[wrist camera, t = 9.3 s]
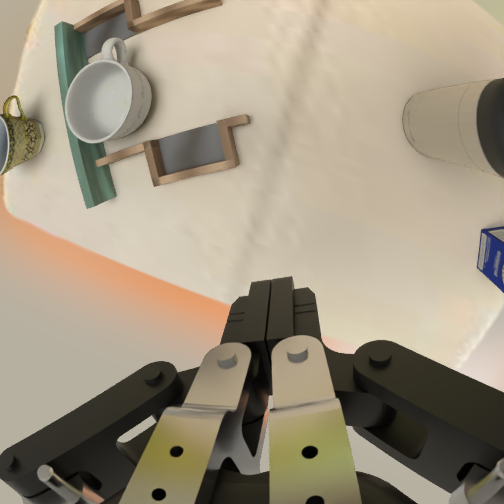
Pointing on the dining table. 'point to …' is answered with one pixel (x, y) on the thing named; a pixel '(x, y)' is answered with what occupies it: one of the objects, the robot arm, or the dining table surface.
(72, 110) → the teacup
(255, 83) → the dining table surface
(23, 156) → the ceramic cup
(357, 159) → the dining table surface
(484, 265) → the milk carton
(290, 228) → the dining table surface
